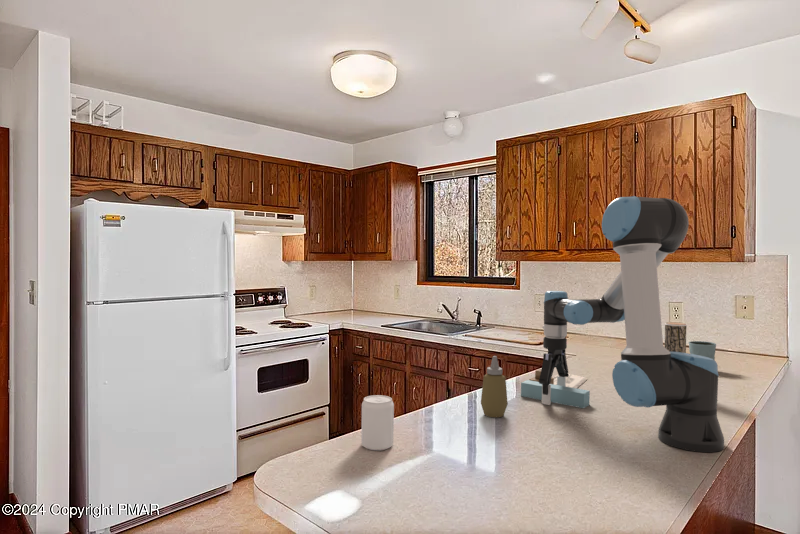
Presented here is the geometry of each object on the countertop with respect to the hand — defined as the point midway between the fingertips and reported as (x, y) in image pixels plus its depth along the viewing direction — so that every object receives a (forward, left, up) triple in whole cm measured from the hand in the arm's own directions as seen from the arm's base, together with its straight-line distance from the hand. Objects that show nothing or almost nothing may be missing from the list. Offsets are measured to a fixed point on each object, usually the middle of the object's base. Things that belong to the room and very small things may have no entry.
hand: (553, 399), depth 176 cm
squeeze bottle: (-28, +8, 0) cm, 29 cm away
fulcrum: (+11, +9, 0) cm, 14 cm away
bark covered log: (+37, -30, 0) cm, 48 cm away
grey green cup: (+87, -32, 0) cm, 93 cm away
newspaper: (+26, +6, -1) cm, 26 cm away
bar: (0, 0, 0) cm, 0 cm away
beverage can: (-70, +19, 0) cm, 73 cm away
